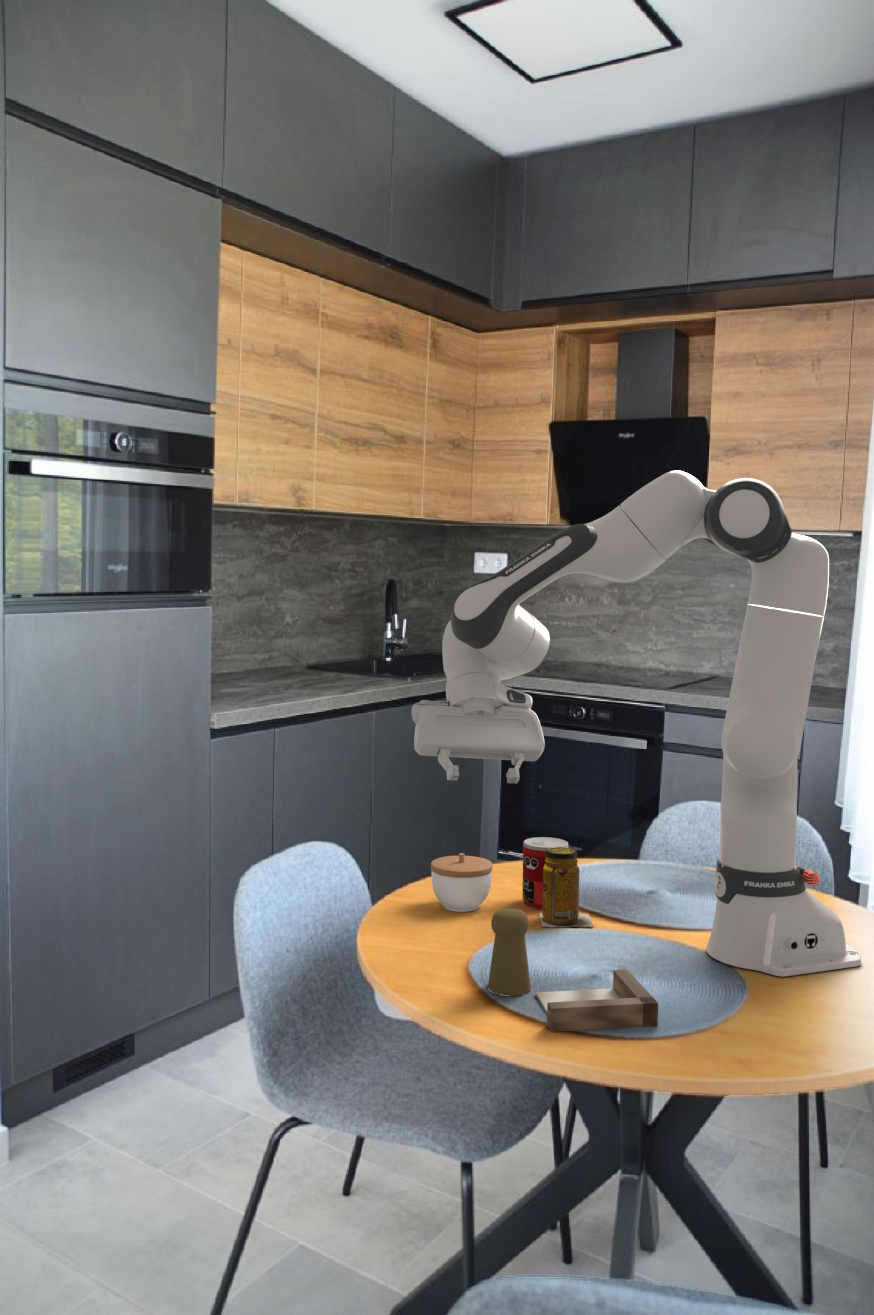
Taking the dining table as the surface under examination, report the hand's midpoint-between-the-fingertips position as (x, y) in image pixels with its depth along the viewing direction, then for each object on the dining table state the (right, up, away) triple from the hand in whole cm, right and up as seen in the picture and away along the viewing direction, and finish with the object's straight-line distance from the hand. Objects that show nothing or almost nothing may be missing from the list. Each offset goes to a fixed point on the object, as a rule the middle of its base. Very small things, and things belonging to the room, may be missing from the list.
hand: (483, 780), depth 161 cm
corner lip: (+13, -28, -20) cm, 37 cm away
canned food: (+12, -25, +28) cm, 39 cm away
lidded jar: (-3, -25, +25) cm, 36 cm away
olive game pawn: (+3, -28, -12) cm, 30 cm away
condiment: (+15, -26, +18) cm, 35 cm away
